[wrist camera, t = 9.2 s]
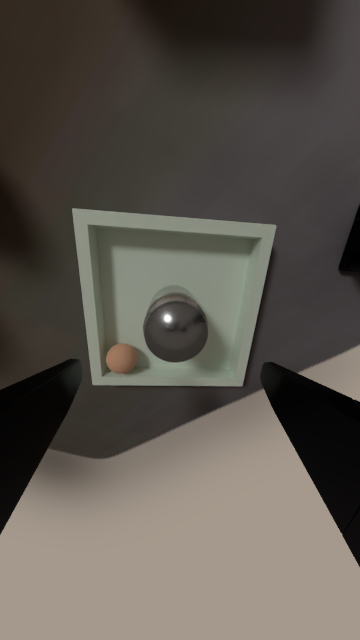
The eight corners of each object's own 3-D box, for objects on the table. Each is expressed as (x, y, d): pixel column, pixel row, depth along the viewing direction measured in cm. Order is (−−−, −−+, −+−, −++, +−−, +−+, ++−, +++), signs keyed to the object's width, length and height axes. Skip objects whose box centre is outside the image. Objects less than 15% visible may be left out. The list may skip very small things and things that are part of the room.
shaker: (199, 286, 18) (214, 302, 12) (194, 331, 20) (206, 365, 14) (150, 283, 18) (141, 299, 12) (149, 329, 19) (141, 364, 13)
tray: (261, 229, 17) (276, 225, 15) (234, 372, 23) (242, 386, 20) (86, 215, 16) (72, 208, 14) (100, 370, 21) (92, 385, 19)
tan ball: (138, 338, 20) (134, 353, 17) (139, 363, 21) (134, 380, 18) (110, 338, 19) (100, 352, 17) (111, 362, 20) (102, 379, 18)
